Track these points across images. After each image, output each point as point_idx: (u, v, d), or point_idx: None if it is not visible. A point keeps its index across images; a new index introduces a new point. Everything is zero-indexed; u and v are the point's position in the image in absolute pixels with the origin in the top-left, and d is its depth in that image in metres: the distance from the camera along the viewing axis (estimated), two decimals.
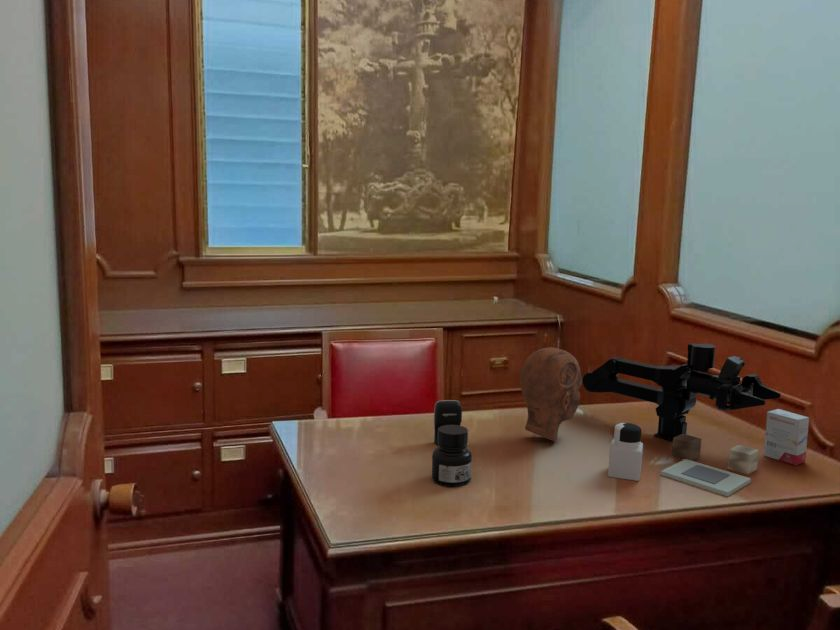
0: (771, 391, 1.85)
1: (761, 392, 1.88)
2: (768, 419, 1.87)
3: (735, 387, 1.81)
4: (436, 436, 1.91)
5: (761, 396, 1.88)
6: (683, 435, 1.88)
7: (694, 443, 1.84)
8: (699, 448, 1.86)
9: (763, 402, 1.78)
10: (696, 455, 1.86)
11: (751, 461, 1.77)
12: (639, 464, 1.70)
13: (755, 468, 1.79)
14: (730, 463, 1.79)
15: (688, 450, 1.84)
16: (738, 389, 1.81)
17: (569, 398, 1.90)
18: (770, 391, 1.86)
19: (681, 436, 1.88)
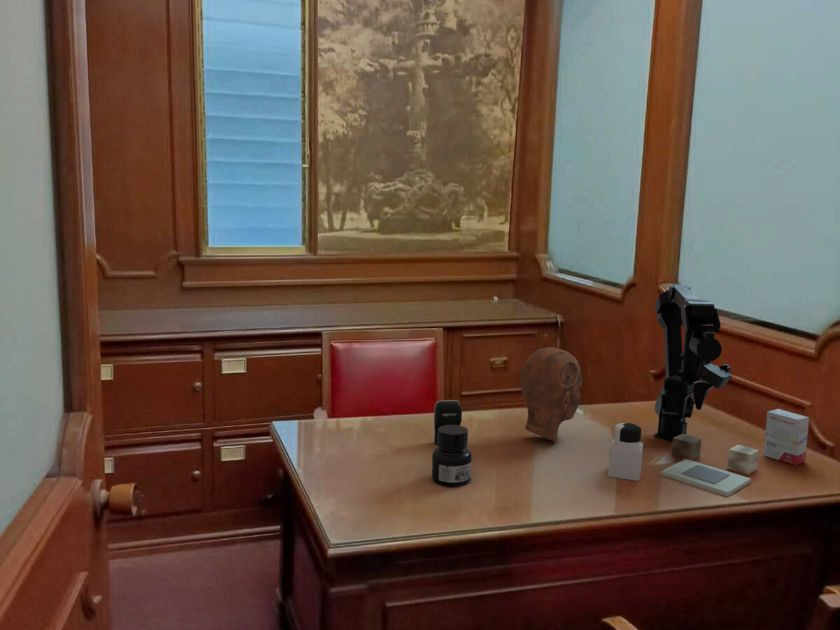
0: (701, 401, 1.88)
1: (700, 390, 1.88)
2: (768, 419, 1.87)
3: (689, 395, 1.78)
4: (436, 436, 1.91)
5: (696, 390, 1.89)
6: (683, 435, 1.88)
7: (694, 443, 1.84)
8: (699, 448, 1.86)
9: (680, 415, 1.82)
10: (697, 455, 1.86)
11: (751, 461, 1.77)
12: (639, 464, 1.70)
13: (755, 468, 1.79)
14: (730, 463, 1.79)
15: (688, 450, 1.84)
16: (689, 395, 1.79)
17: (569, 398, 1.90)
18: (701, 400, 1.88)
19: (681, 436, 1.88)
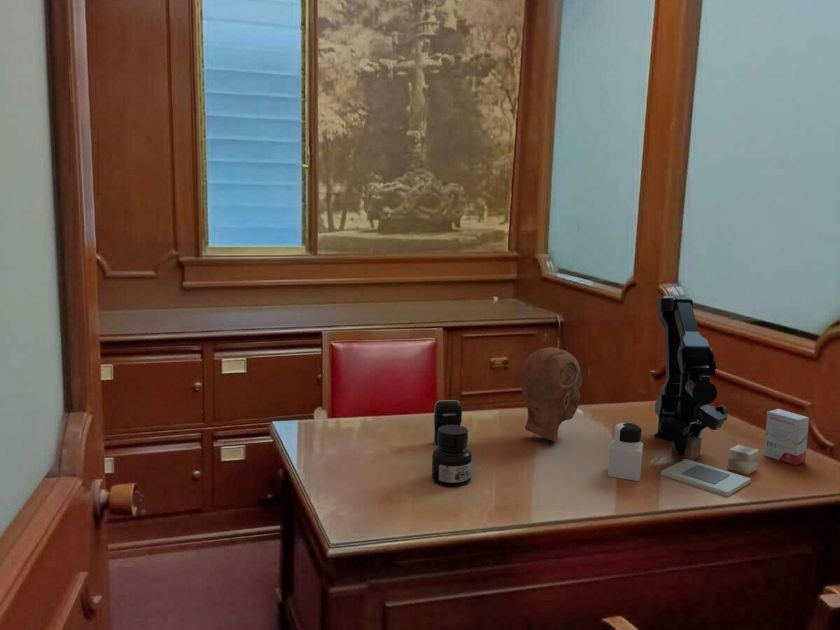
0: None
1: (692, 431, 1.89)
2: (768, 419, 1.87)
3: (689, 434, 1.81)
4: (436, 436, 1.91)
5: (689, 431, 1.89)
6: None
7: (694, 443, 1.84)
8: (699, 448, 1.86)
9: (680, 454, 1.85)
10: (696, 455, 1.86)
11: (751, 461, 1.77)
12: (639, 464, 1.70)
13: (755, 468, 1.79)
14: (730, 463, 1.79)
15: (688, 450, 1.84)
16: (688, 435, 1.82)
17: (569, 398, 1.90)
18: None
19: None
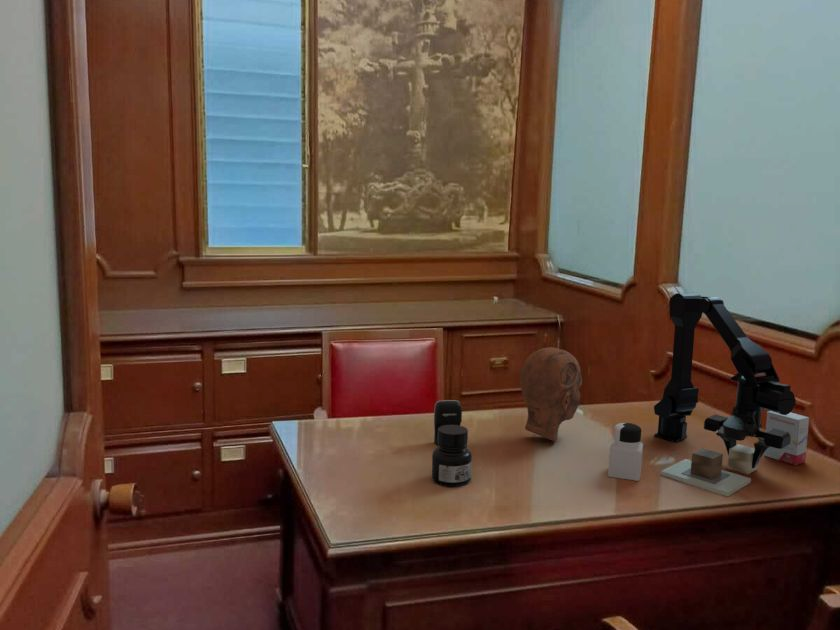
0: (753, 459, 1.77)
1: None
2: (768, 419, 1.87)
3: (720, 436, 1.80)
4: (436, 436, 1.91)
5: None
6: (703, 450, 1.74)
7: (715, 459, 1.70)
8: (720, 464, 1.72)
9: None
10: (718, 472, 1.72)
11: (751, 460, 1.77)
12: (639, 464, 1.70)
13: (755, 468, 1.79)
14: (730, 463, 1.79)
15: (709, 466, 1.70)
16: (724, 438, 1.80)
17: (569, 398, 1.90)
18: None
19: (701, 451, 1.74)
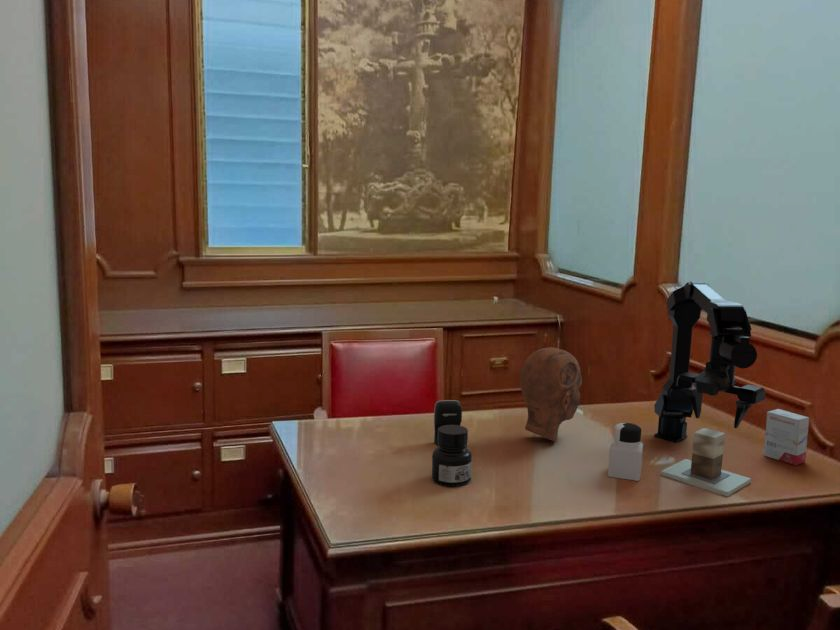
0: (735, 419, 1.69)
1: None
2: (768, 419, 1.87)
3: (686, 391, 1.75)
4: (436, 436, 1.91)
5: None
6: None
7: (715, 459, 1.70)
8: (720, 464, 1.72)
9: None
10: (718, 472, 1.72)
11: (716, 444, 1.69)
12: (639, 464, 1.70)
13: (721, 452, 1.72)
14: (695, 447, 1.72)
15: (709, 466, 1.70)
16: (690, 393, 1.75)
17: (569, 398, 1.90)
18: None
19: None
